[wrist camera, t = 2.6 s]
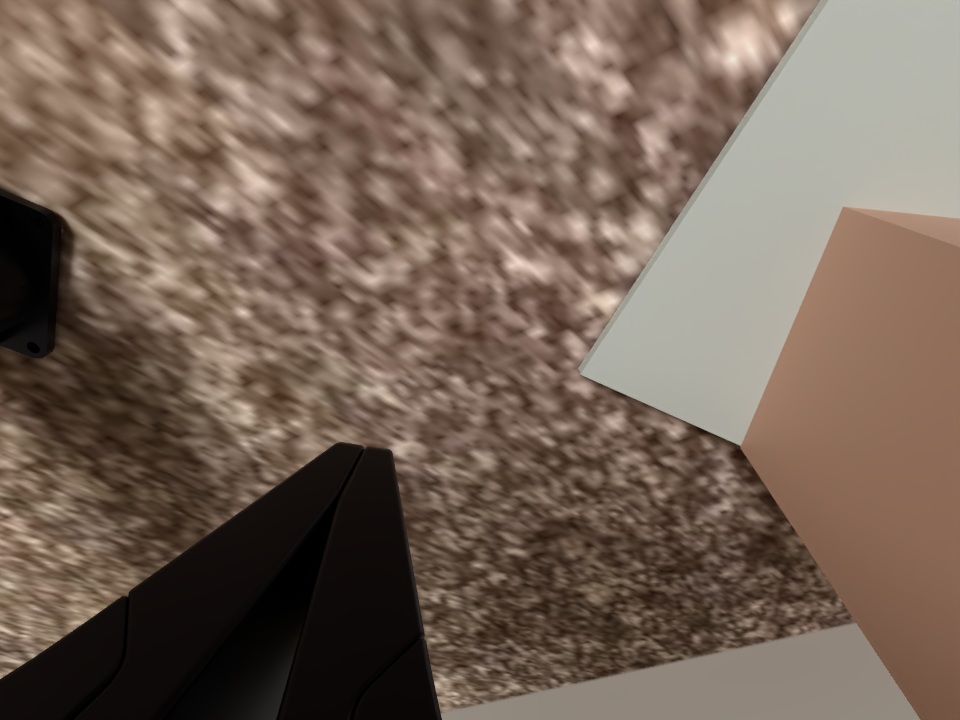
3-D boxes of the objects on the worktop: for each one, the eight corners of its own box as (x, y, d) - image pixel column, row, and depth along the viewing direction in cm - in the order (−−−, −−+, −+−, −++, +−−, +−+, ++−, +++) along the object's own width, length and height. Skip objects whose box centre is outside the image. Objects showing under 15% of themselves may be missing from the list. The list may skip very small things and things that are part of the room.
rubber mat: (977, 546, 24) (986, 555, 24) (578, 368, 20) (579, 374, 20) (1351, 277, 17) (1372, 282, 17) (861, -63, 14) (873, -68, 13)
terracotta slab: (740, 447, 21) (938, 747, 12) (842, 206, 17) (1325, 373, 7) (833, 456, 21) (1108, 762, 12) (962, 218, 17) (1609, 402, 7)
